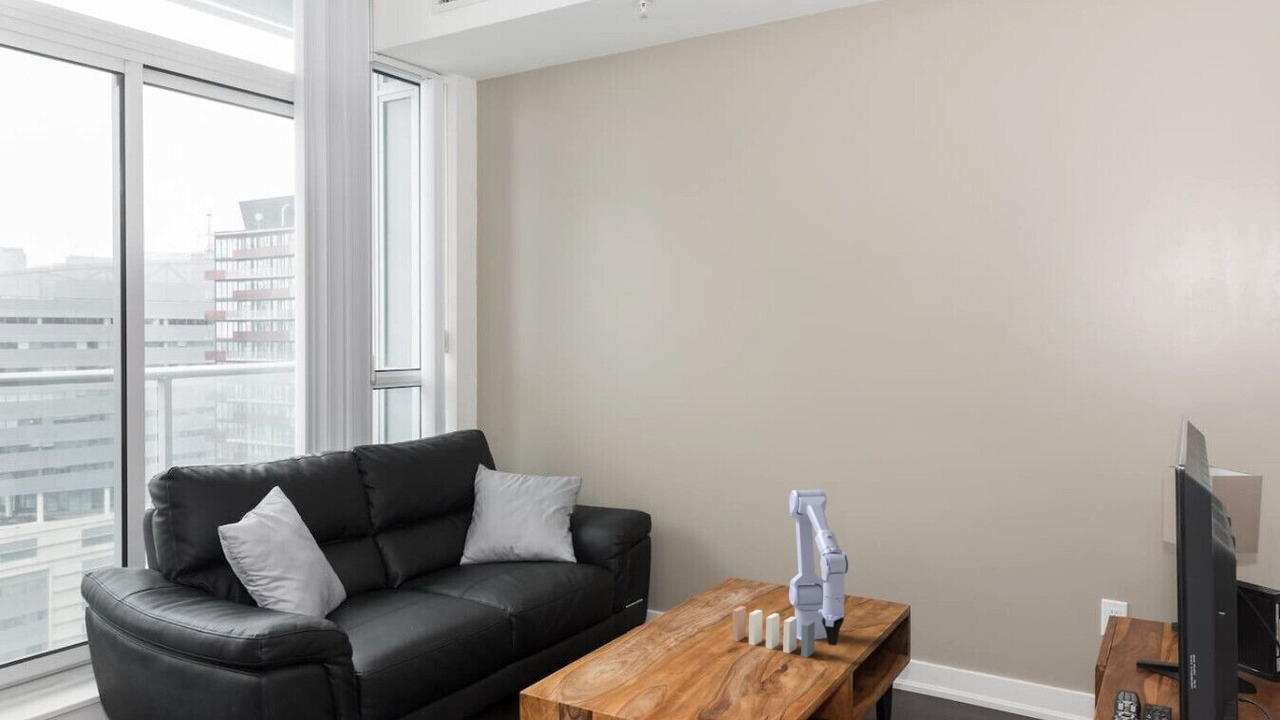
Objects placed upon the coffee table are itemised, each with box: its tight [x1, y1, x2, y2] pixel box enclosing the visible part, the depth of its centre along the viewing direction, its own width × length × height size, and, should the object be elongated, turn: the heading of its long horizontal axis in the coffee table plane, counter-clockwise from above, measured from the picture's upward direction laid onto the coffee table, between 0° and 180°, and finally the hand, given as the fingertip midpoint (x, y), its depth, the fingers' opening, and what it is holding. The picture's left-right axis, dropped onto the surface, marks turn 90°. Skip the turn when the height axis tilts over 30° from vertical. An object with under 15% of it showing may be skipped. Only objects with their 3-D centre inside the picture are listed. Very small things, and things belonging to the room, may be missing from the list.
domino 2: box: [748, 609, 764, 646], centre depth 273 cm, size 2×5×9 cm, turn 146°
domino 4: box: [782, 616, 798, 654], centre depth 266 cm, size 2×5×9 cm, turn 146°
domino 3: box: [765, 612, 781, 650], centre depth 270 cm, size 2×5×9 cm, turn 146°
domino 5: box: [800, 620, 815, 658], centre depth 263 cm, size 2×5×9 cm, turn 147°
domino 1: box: [731, 605, 747, 643], centre depth 276 cm, size 2×5×9 cm, turn 146°
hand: (832, 644), depth 259 cm, fingers closed
